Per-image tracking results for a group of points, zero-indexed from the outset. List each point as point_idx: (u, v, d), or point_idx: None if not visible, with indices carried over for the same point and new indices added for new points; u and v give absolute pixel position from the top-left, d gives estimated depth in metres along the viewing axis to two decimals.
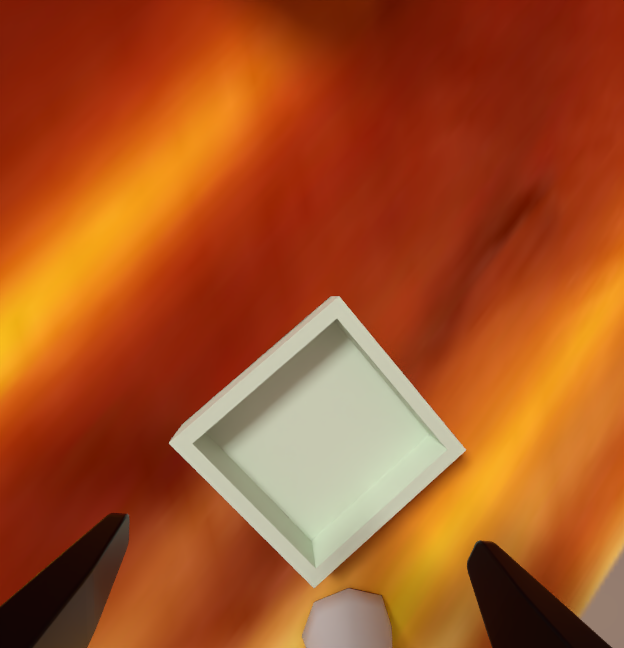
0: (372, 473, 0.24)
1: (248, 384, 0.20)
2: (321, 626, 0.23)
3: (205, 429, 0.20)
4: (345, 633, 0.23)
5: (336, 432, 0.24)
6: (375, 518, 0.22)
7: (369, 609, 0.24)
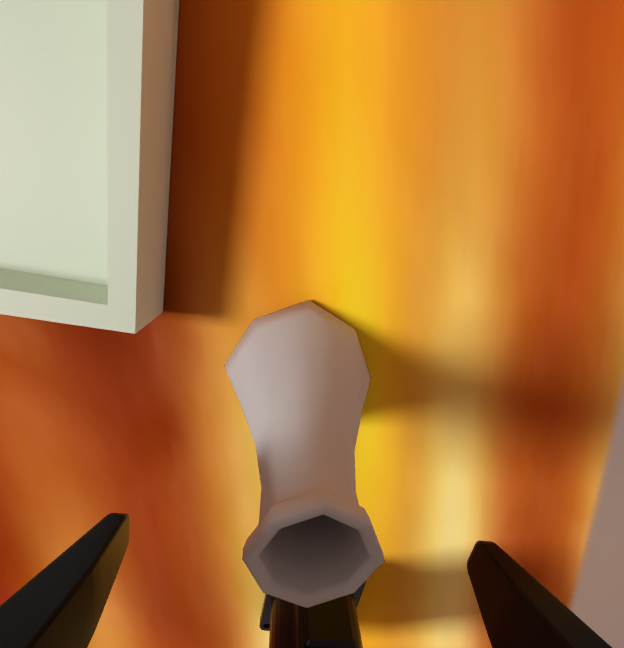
0: None
1: None
2: (230, 379, 0.15)
3: None
4: (251, 365, 0.14)
5: None
6: (114, 155, 0.11)
7: (285, 322, 0.15)
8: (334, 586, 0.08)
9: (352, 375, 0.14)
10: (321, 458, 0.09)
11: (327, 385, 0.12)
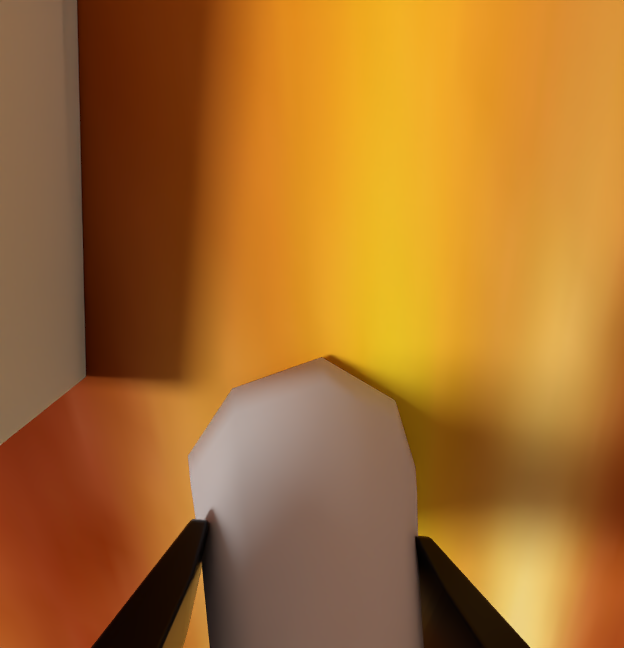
0: None
1: None
2: (193, 494, 0.09)
3: None
4: (223, 485, 0.08)
5: None
6: None
7: (285, 400, 0.09)
8: None
9: (402, 505, 0.08)
10: None
11: (368, 563, 0.06)
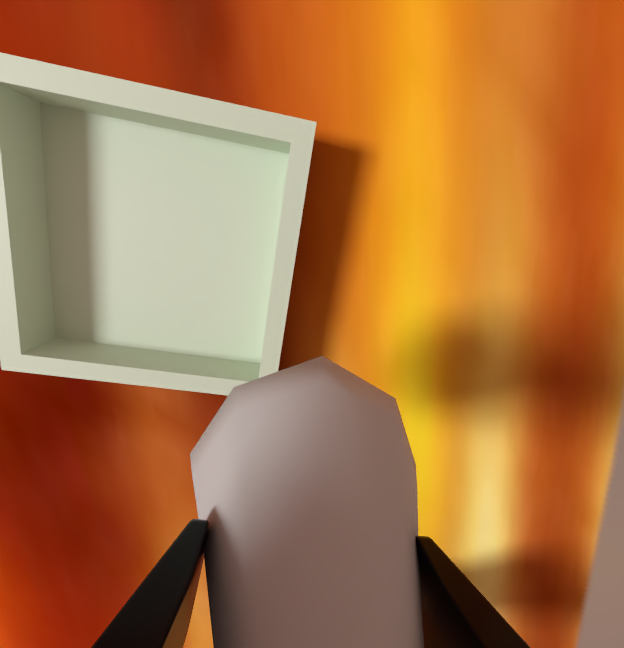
0: (263, 252, 0.18)
1: None
2: (195, 491, 0.09)
3: (15, 332, 0.16)
4: (226, 483, 0.08)
5: (183, 238, 0.17)
6: (274, 291, 0.16)
7: (286, 398, 0.09)
8: None
9: (402, 501, 0.08)
10: None
11: (368, 558, 0.06)
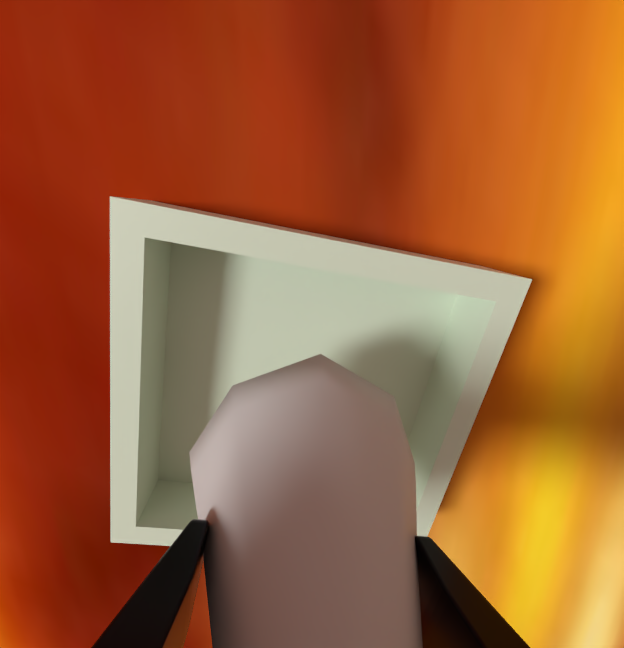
0: (410, 389, 0.15)
1: (124, 425, 0.12)
2: (194, 489, 0.09)
3: (133, 504, 0.13)
4: (225, 480, 0.08)
5: None
6: (442, 455, 0.14)
7: (284, 396, 0.09)
8: None
9: (401, 498, 0.08)
10: None
11: (366, 554, 0.06)
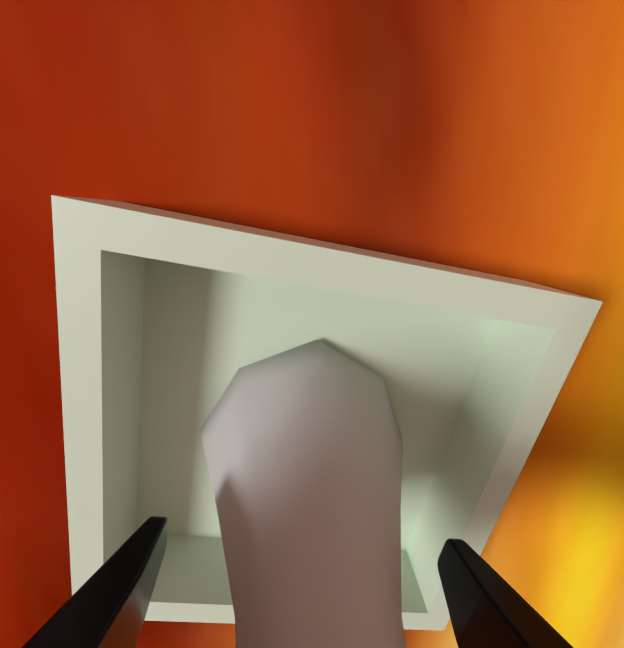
0: (435, 426, 0.13)
1: (84, 484, 0.09)
2: (206, 458, 0.10)
3: None
4: (234, 446, 0.09)
5: None
6: (479, 513, 0.11)
7: (284, 375, 0.10)
8: None
9: (385, 460, 0.09)
10: None
11: (353, 497, 0.07)
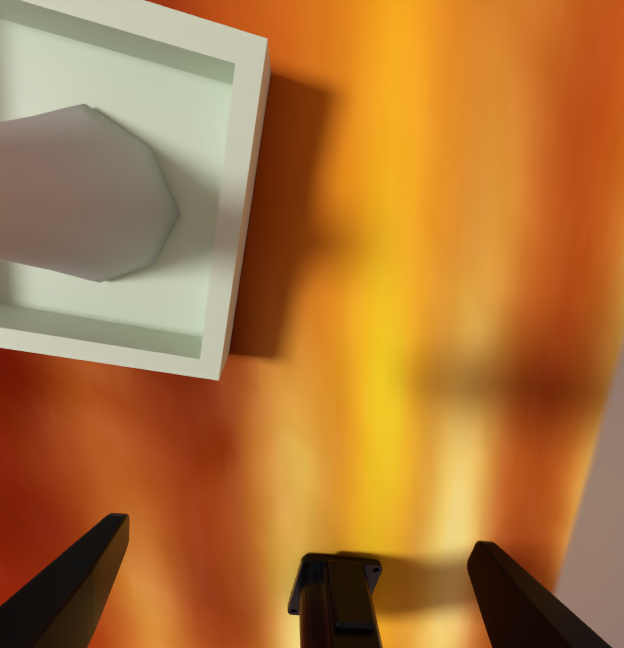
0: (212, 208, 0.15)
1: None
2: None
3: None
4: None
5: None
6: (218, 252, 0.14)
7: None
8: None
9: (102, 164, 0.12)
10: None
11: (26, 137, 0.10)
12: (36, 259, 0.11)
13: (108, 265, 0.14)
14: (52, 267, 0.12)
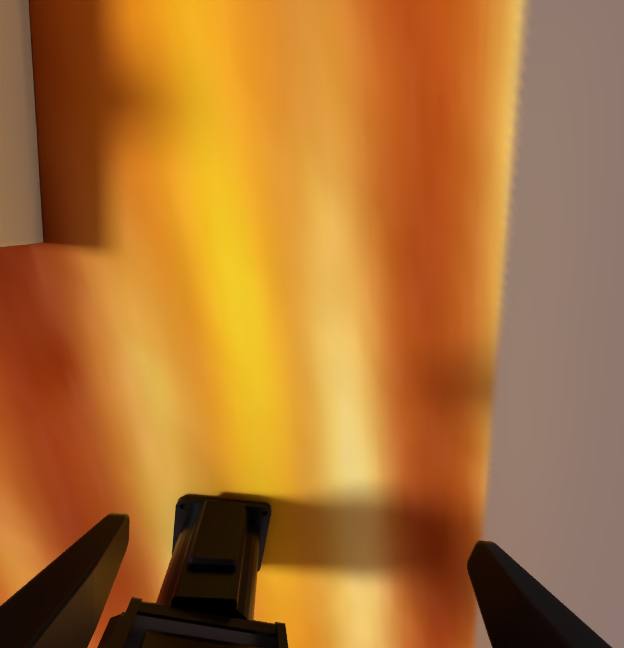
0: None
1: None
2: None
3: None
4: None
5: None
6: None
7: None
8: None
9: None
10: None
11: None
12: None
13: None
14: None
